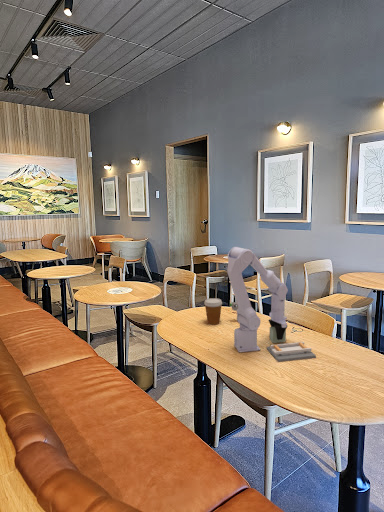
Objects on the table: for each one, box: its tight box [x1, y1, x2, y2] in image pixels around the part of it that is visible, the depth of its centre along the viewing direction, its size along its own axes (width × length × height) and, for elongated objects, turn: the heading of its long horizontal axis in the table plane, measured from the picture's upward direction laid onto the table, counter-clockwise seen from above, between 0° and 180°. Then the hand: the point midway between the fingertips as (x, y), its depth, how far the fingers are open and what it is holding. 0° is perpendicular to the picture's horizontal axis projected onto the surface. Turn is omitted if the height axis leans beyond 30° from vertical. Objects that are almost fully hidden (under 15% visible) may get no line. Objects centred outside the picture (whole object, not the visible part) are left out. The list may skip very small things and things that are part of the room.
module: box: [269, 326, 287, 344], centre depth 150 cm, size 6×4×6 cm, turn 99°
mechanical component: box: [229, 301, 238, 312], centre depth 176 cm, size 3×10×10 cm, turn 89°
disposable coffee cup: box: [203, 297, 223, 326], centre depth 175 cm, size 10×10×12 cm
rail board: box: [265, 341, 317, 363], centre depth 138 cm, size 16×12×3 cm
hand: (277, 337), depth 151 cm, fingers open, 4 cm apart
